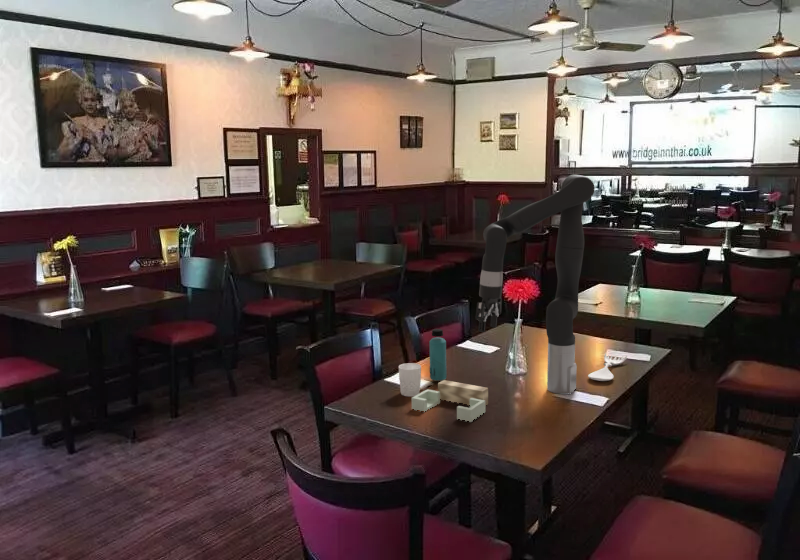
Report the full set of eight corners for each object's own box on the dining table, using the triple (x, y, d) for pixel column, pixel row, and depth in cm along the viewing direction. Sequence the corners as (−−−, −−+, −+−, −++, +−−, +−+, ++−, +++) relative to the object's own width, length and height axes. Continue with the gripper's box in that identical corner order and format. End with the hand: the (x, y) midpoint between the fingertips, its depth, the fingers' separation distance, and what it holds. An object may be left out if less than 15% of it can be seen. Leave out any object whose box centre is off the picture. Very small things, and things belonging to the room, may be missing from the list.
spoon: (627, 363, 266) (627, 354, 265) (609, 386, 239) (610, 377, 238) (604, 360, 270) (604, 352, 270) (584, 383, 243) (584, 373, 242)
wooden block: (488, 405, 223) (488, 387, 222) (482, 408, 219) (482, 391, 218) (443, 396, 232) (443, 379, 231) (438, 399, 229) (438, 383, 228)
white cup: (414, 398, 230) (413, 370, 228) (394, 395, 234) (394, 367, 232) (425, 392, 236) (425, 364, 235) (406, 388, 240) (406, 361, 239)
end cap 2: (485, 412, 215) (485, 400, 215) (470, 422, 207) (470, 410, 207) (471, 409, 218) (471, 397, 217) (456, 419, 210) (456, 407, 209)
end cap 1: (411, 409, 219) (411, 397, 219) (427, 400, 228) (427, 389, 227) (424, 412, 217) (424, 400, 216) (440, 402, 225) (440, 391, 224)
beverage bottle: (449, 380, 249) (449, 328, 245) (443, 385, 243) (442, 332, 239) (433, 378, 251) (432, 326, 248) (426, 383, 245) (425, 330, 242)
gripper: (491, 288, 218) (487, 335, 221) (510, 282, 230) (506, 327, 233) (471, 284, 223) (467, 331, 226) (491, 279, 234) (487, 323, 237)
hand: (487, 329), depth 229 cm, fingers open, 8 cm apart
